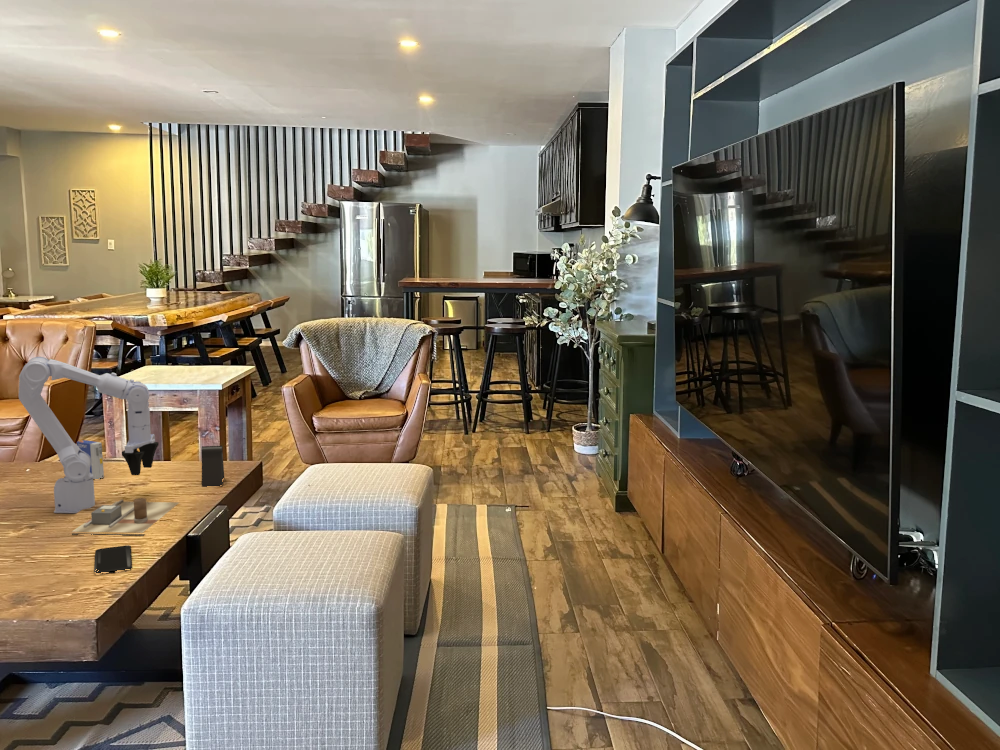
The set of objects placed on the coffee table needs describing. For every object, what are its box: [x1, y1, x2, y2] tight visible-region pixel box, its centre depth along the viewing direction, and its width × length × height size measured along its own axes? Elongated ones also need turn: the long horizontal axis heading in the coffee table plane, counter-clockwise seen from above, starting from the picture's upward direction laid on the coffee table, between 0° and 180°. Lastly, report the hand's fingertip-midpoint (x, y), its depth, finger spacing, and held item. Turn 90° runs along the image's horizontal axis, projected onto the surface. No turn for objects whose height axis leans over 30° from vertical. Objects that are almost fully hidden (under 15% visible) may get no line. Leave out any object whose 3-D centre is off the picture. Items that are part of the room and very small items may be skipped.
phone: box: [93, 544, 133, 573], centre depth 181 cm, size 8×1×15 cm
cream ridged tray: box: [71, 499, 180, 537], centre depth 208 cm, size 18×24×2 cm
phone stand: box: [200, 445, 225, 488], centre depth 241 cm, size 9×6×12 cm, turn 14°
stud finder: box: [90, 505, 122, 524], centre depth 204 cm, size 5×6×4 cm
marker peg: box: [133, 497, 148, 524], centre depth 204 cm, size 3×3×6 cm
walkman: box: [76, 439, 105, 480], centre depth 244 cm, size 8×3×12 cm, turn 68°
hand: (141, 471), depth 221 cm, fingers open, 7 cm apart
